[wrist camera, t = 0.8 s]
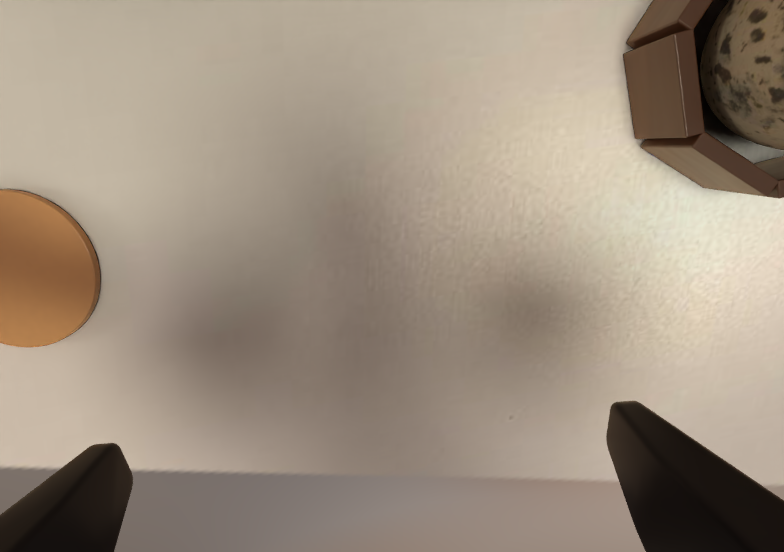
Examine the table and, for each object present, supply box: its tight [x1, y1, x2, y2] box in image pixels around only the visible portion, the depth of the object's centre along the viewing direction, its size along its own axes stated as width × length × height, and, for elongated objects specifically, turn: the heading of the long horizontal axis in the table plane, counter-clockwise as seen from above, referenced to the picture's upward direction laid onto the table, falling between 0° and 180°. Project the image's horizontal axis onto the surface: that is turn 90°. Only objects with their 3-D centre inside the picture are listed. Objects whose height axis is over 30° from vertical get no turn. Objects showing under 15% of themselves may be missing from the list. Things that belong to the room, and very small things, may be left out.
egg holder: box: [624, 0, 784, 198], centre depth 17 cm, size 8×8×4 cm
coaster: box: [0, 189, 100, 347], centre depth 20 cm, size 6×6×1 cm
